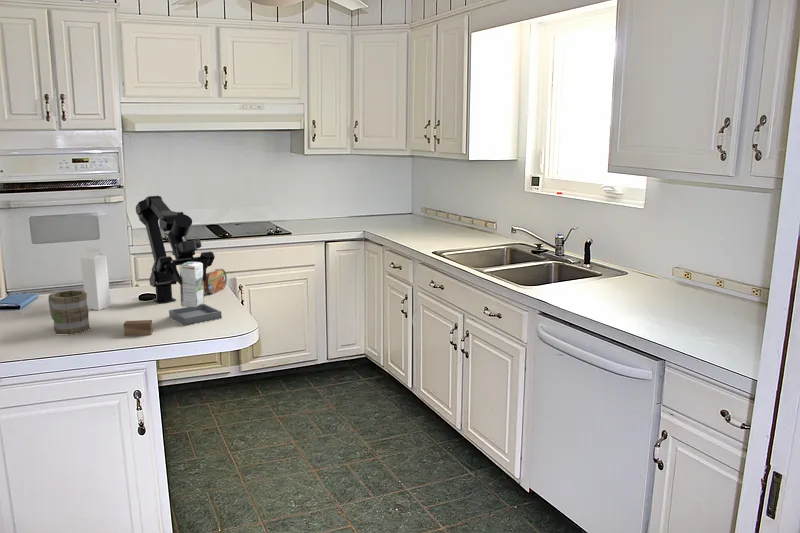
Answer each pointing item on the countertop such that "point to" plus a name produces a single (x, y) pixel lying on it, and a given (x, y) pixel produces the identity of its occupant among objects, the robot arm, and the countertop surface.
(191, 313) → the tray
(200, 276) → the syrup box
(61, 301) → the mug
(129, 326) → the block
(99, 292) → the milk
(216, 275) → the tin
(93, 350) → the countertop surface
